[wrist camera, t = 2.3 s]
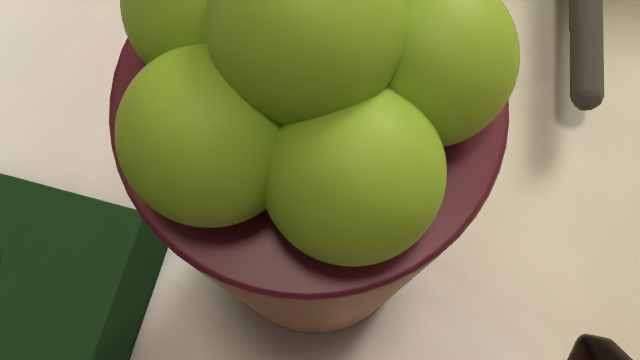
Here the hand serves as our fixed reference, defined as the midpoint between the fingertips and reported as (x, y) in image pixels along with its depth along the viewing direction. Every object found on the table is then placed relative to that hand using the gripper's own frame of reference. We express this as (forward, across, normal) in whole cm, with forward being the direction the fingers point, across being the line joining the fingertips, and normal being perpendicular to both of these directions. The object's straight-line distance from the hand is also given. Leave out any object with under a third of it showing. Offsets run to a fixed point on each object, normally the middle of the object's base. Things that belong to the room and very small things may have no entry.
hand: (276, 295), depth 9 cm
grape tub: (+9, 0, +5) cm, 10 cm away
